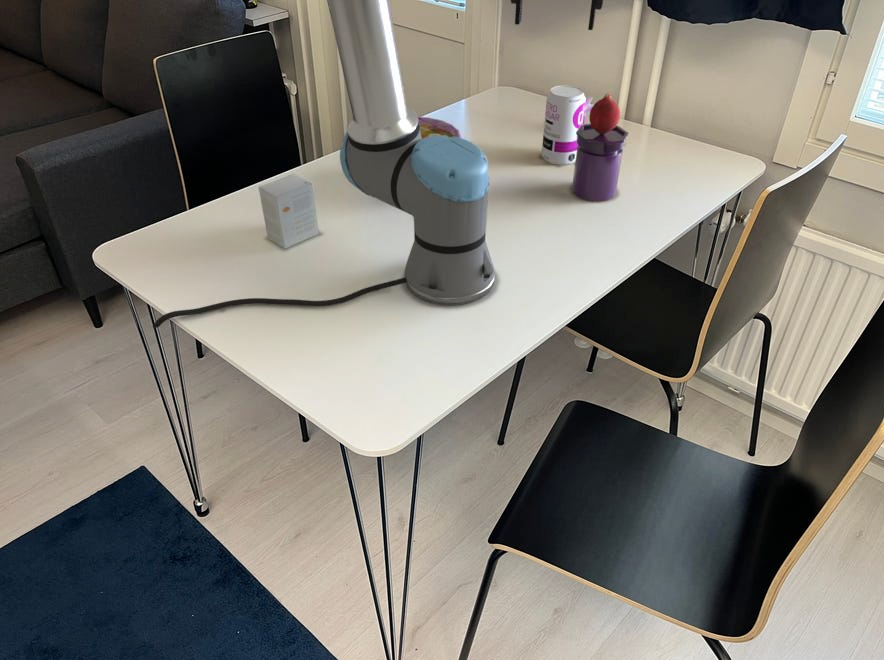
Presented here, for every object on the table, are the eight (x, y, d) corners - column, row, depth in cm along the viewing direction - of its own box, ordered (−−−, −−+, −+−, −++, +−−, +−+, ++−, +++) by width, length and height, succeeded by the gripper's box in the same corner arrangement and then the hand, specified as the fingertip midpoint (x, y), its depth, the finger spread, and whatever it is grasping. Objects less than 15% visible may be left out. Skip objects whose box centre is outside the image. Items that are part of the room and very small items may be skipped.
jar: (584, 205, 144) (593, 145, 136) (562, 185, 151) (568, 126, 143) (626, 197, 147) (636, 138, 139) (602, 178, 153) (610, 120, 145)
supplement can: (583, 156, 162) (592, 89, 153) (568, 169, 157) (576, 100, 147) (551, 148, 166) (558, 81, 156) (535, 160, 160) (540, 93, 151)
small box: (302, 223, 137) (295, 172, 131) (319, 234, 134) (313, 182, 128) (266, 238, 133) (257, 185, 126) (283, 249, 130) (275, 196, 123)
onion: (616, 141, 138) (623, 100, 133) (586, 139, 139) (591, 97, 134) (617, 130, 143) (623, 89, 138) (587, 127, 144) (593, 87, 139)
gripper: (643, -111, 120) (623, 24, 134) (497, -116, 125) (492, 15, 139) (642, -105, 115) (620, 36, 128) (489, -111, 119) (484, 25, 133)
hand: (554, 25), depth 133 cm, fingers open, 13 cm apart
